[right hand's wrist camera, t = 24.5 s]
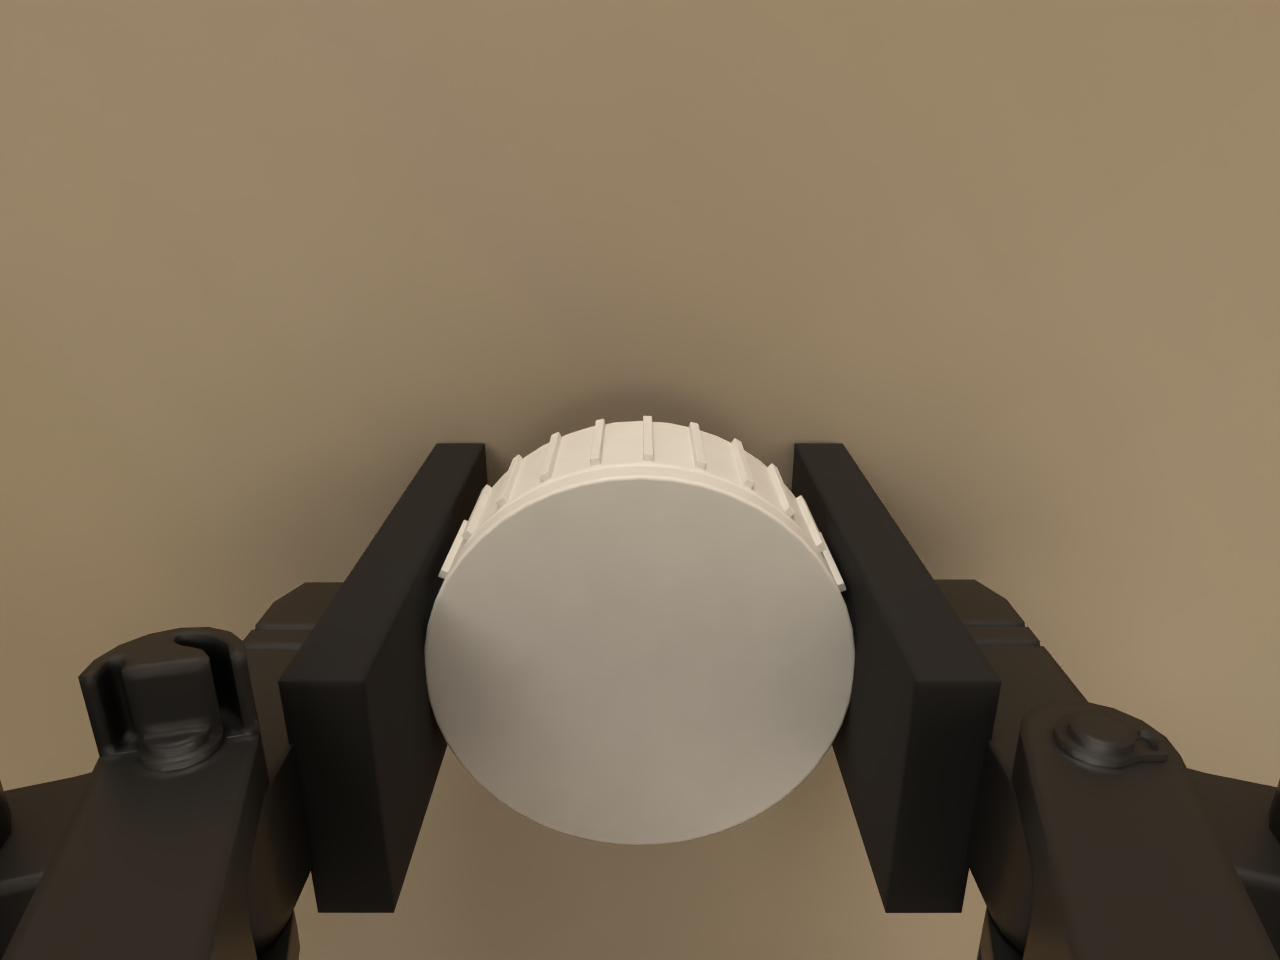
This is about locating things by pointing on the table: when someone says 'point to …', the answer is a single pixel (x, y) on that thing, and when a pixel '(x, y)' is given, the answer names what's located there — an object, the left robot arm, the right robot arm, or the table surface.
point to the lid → (639, 636)
